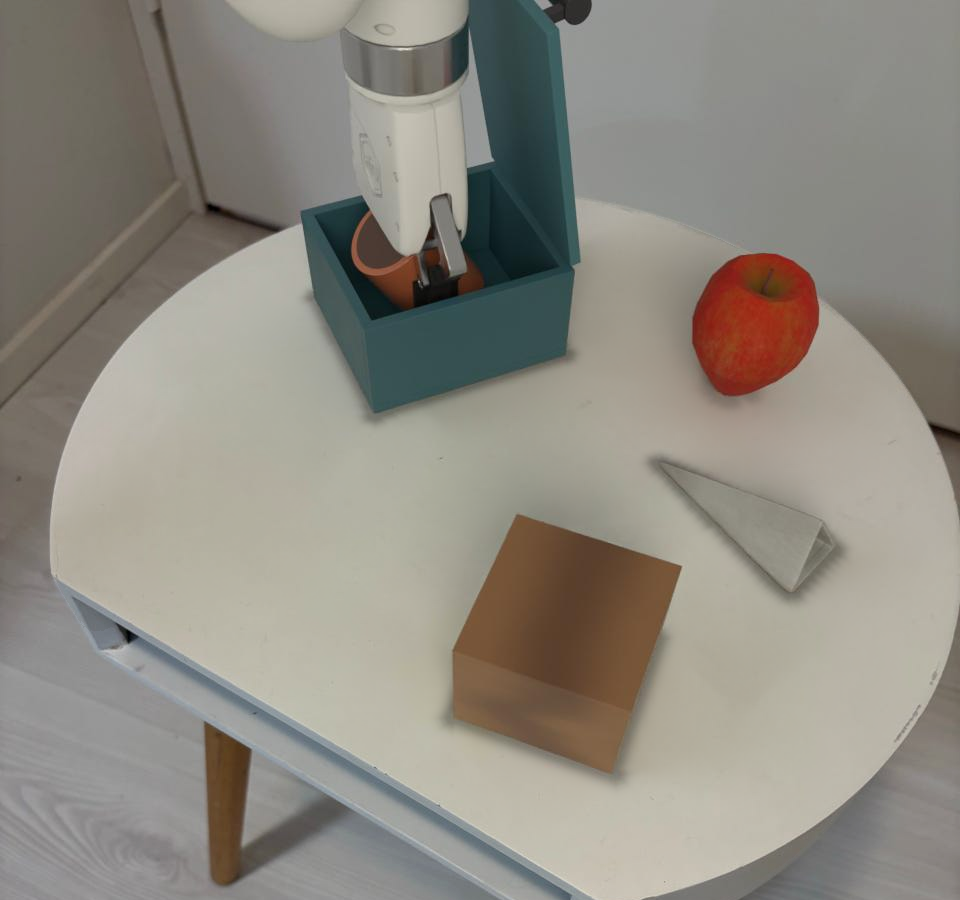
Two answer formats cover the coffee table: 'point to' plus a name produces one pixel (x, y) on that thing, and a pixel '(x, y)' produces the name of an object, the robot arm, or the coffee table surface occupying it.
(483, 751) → the coffee table surface
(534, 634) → the stand
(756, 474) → the coffee table surface
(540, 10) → the cool box lid
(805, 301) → the apple
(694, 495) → the grey triangular spike
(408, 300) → the cup
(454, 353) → the cool box
